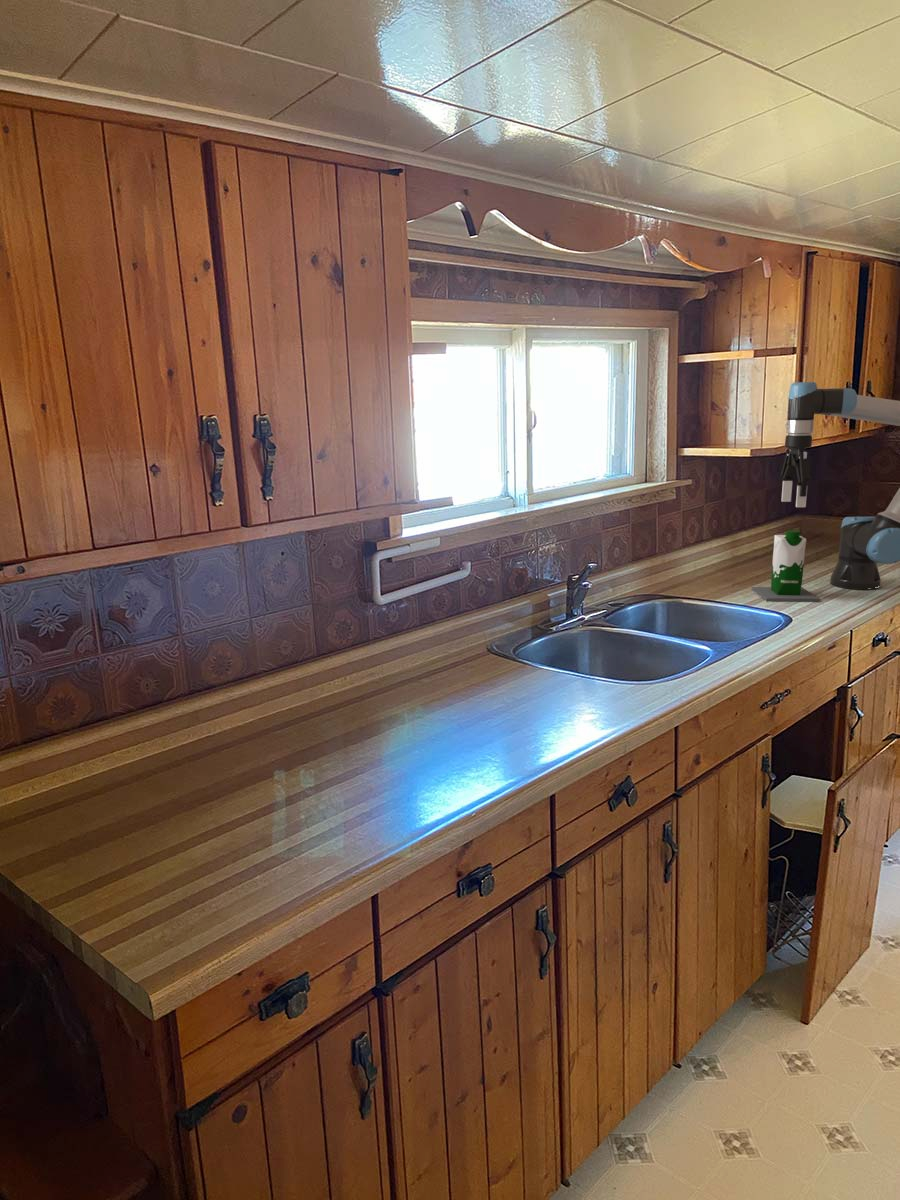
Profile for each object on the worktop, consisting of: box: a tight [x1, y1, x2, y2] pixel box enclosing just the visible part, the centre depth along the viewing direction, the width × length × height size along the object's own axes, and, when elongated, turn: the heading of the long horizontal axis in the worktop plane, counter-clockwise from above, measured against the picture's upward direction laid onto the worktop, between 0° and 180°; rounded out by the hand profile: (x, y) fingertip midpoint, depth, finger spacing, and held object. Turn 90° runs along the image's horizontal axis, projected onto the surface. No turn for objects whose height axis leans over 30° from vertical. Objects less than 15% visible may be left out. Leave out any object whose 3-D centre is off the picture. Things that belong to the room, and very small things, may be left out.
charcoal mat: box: [751, 586, 821, 603], centre depth 266 cm, size 16×16×1 cm
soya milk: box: [770, 529, 807, 595], centre depth 263 cm, size 9×9×20 cm
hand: (793, 504), depth 259 cm, fingers open, 13 cm apart
